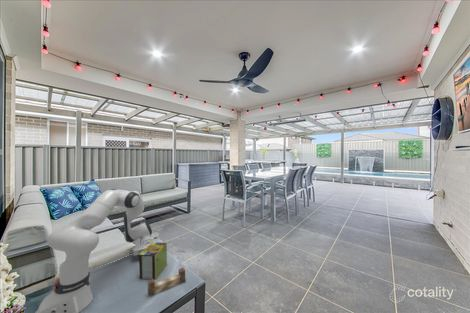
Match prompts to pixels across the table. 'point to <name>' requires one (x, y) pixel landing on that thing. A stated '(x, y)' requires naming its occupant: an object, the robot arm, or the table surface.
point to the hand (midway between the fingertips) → (150, 252)
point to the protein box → (153, 260)
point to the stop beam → (166, 283)
